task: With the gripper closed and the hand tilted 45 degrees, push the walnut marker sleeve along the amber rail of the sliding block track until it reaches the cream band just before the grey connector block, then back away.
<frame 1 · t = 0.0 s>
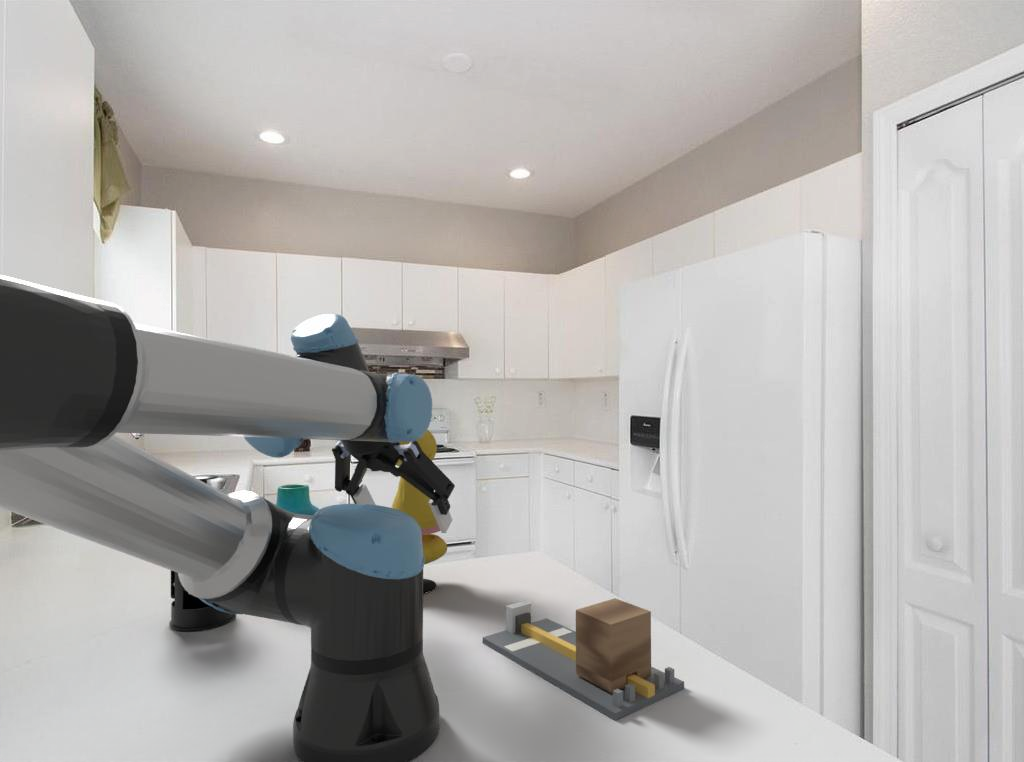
hand: (409, 522, 97), 15 cm above the counter, tool tilted 35°, fingers open, 13 cm apart
french press: (201, 621, 97), on the counter
toy: (414, 585, 114), on the counter
vase: (293, 593, 110), on the counter
sleeve: (613, 642, 76), point 5 cm above the counter, slide at -7.0 cm
sliding block track: (574, 663, 81), on the counter
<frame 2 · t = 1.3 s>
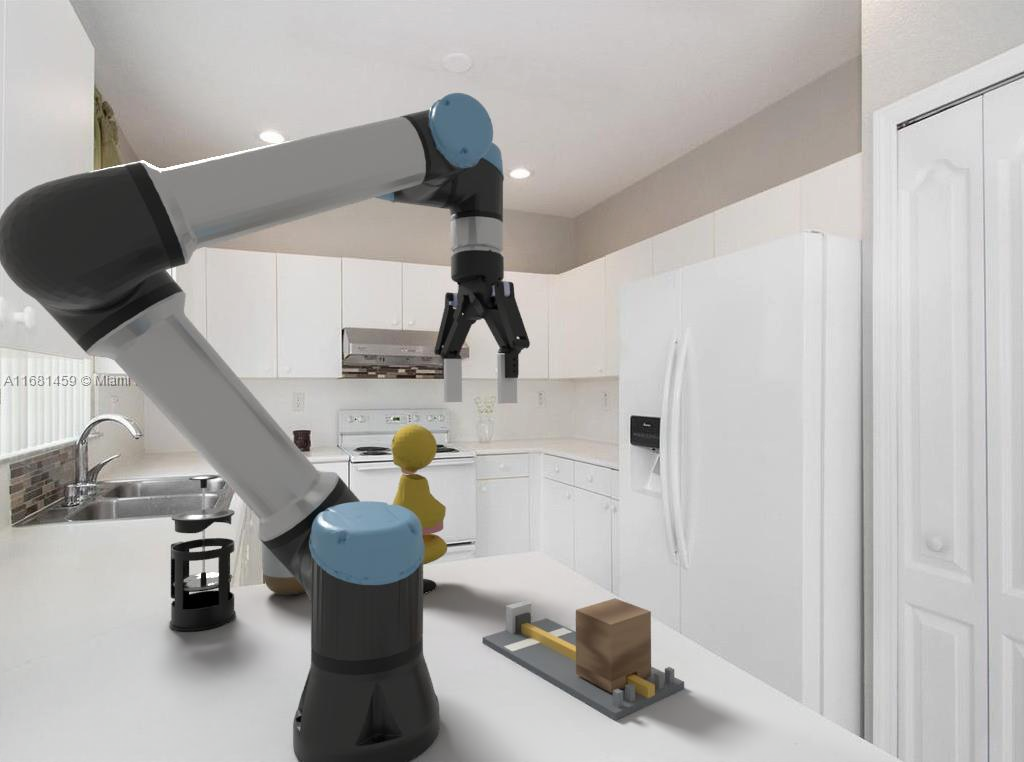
hand: (478, 402, 87), 35 cm above the counter, tool pointing down, fingers open, 13 cm apart
nothing on the counter moved.
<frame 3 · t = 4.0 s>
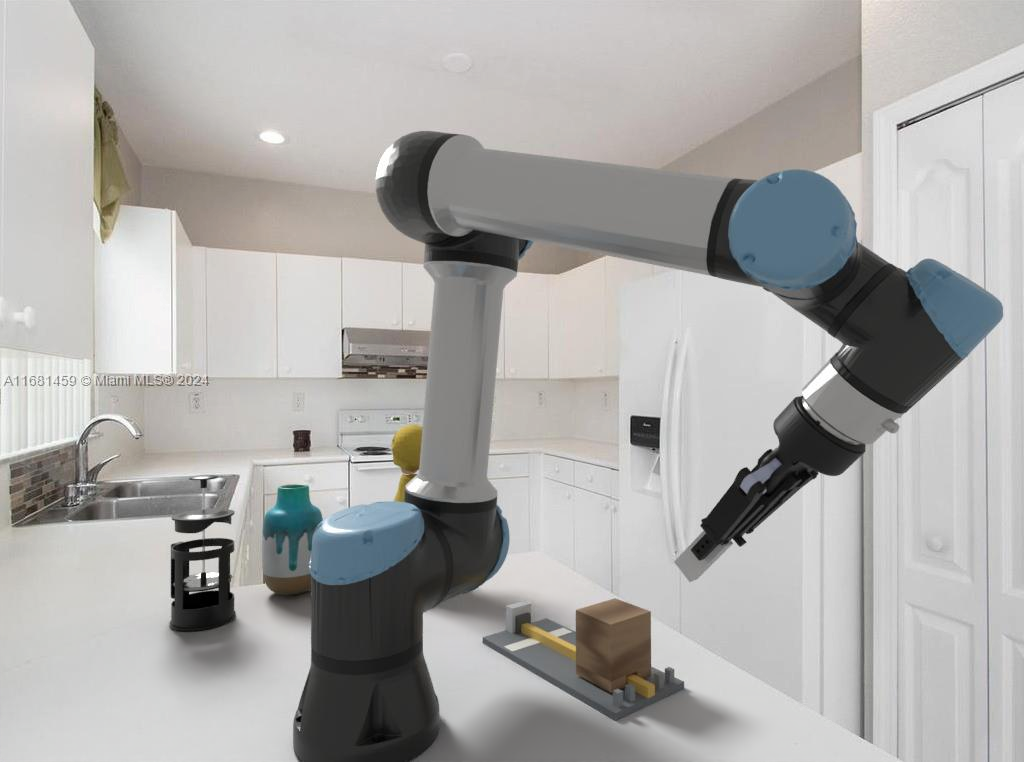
hand: (685, 570, 68), 16 cm above the counter, tool tilted 45°, fingers closed
nothing on the counter moved.
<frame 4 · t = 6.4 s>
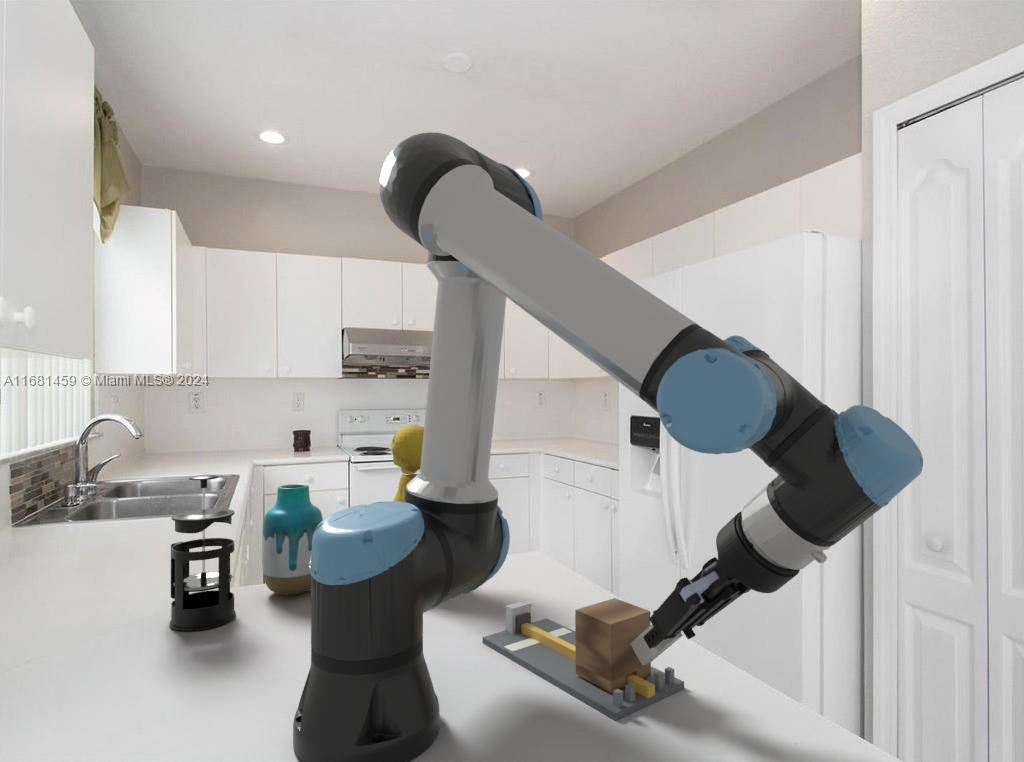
hand: (640, 652, 72), 5 cm above the counter, tool tilted 45°, fingers closed
sleeve: (612, 642, 76), point 5 cm above the counter, slide at -6.9 cm, touching gripper
everything else where it was.
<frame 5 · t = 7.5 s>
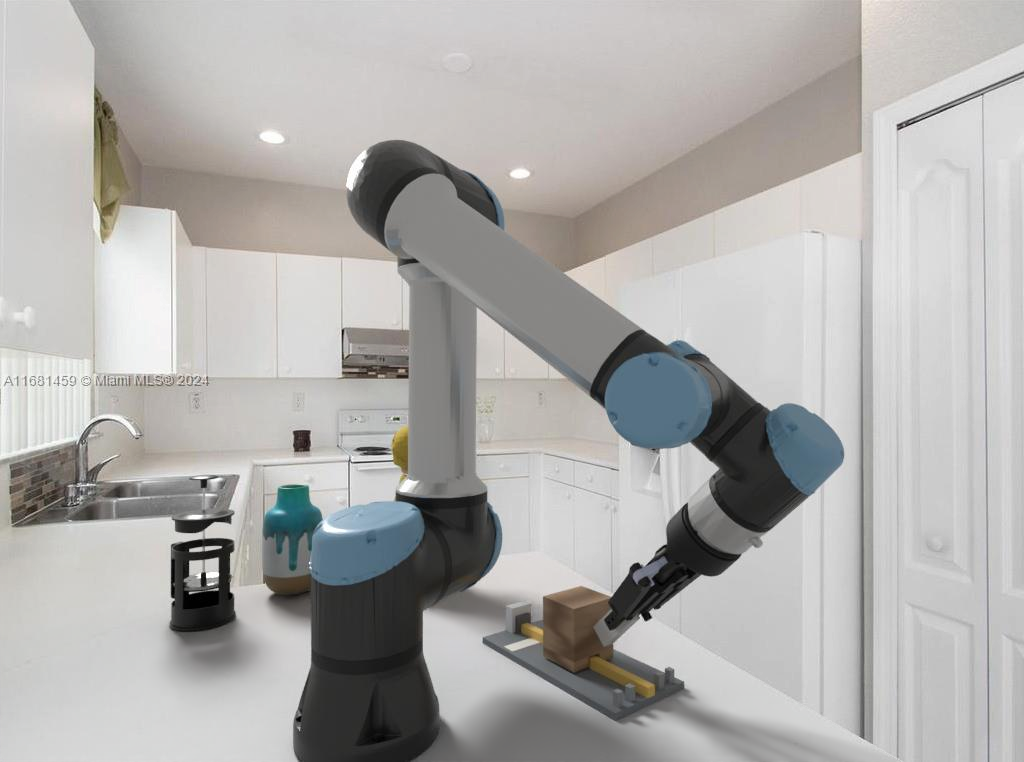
hand: (603, 635, 78), 5 cm above the counter, tool tilted 45°, fingers closed
sleeve: (578, 626, 81), point 5 cm above the counter, slide at -0.6 cm, touching gripper
everything else where it was.
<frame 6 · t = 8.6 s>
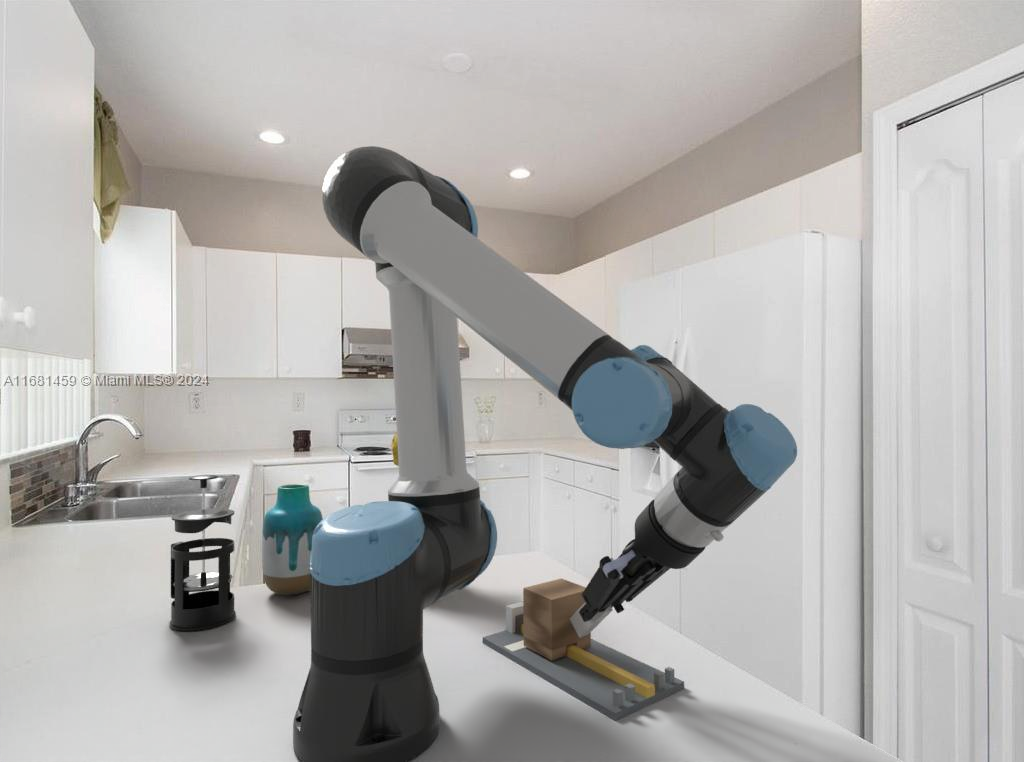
hand: (578, 626, 81), 5 cm above the counter, tool tilted 45°, fingers closed
sleeve: (556, 617, 84), point 5 cm above the counter, slide at 3.6 cm, touching gripper
everything else where it was.
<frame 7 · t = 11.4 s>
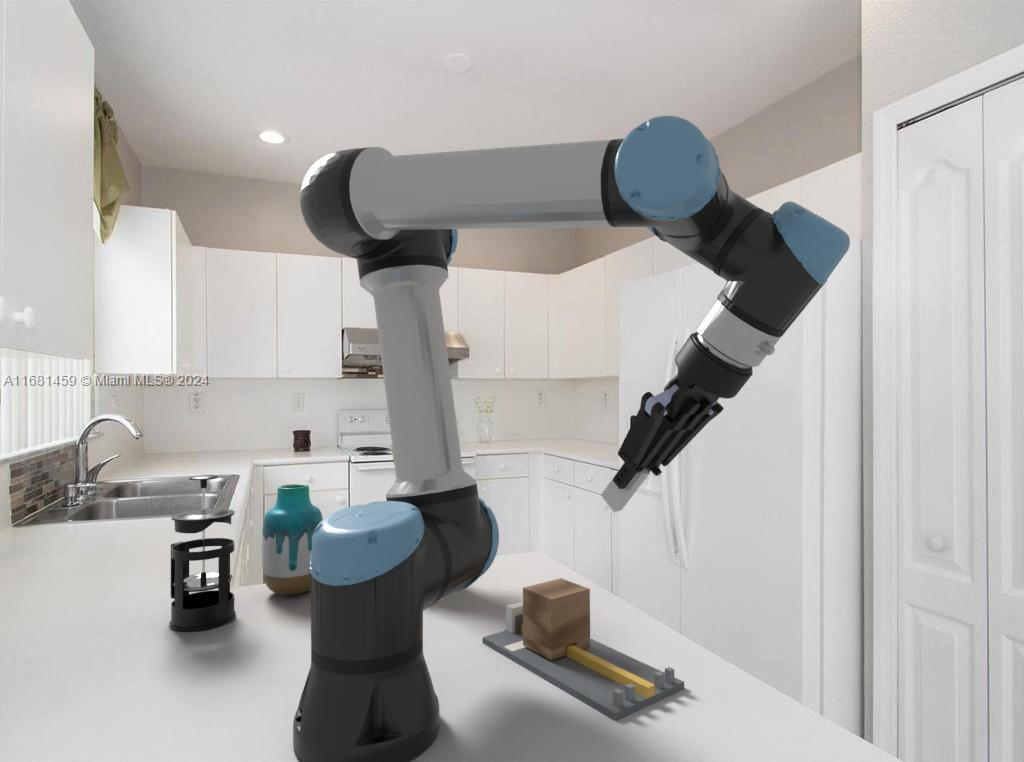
hand: (611, 502, 75), 22 cm above the counter, tool tilted 40°, fingers closed
sleeve: (556, 617, 84), point 5 cm above the counter, slide at 3.7 cm
everything else where it was.
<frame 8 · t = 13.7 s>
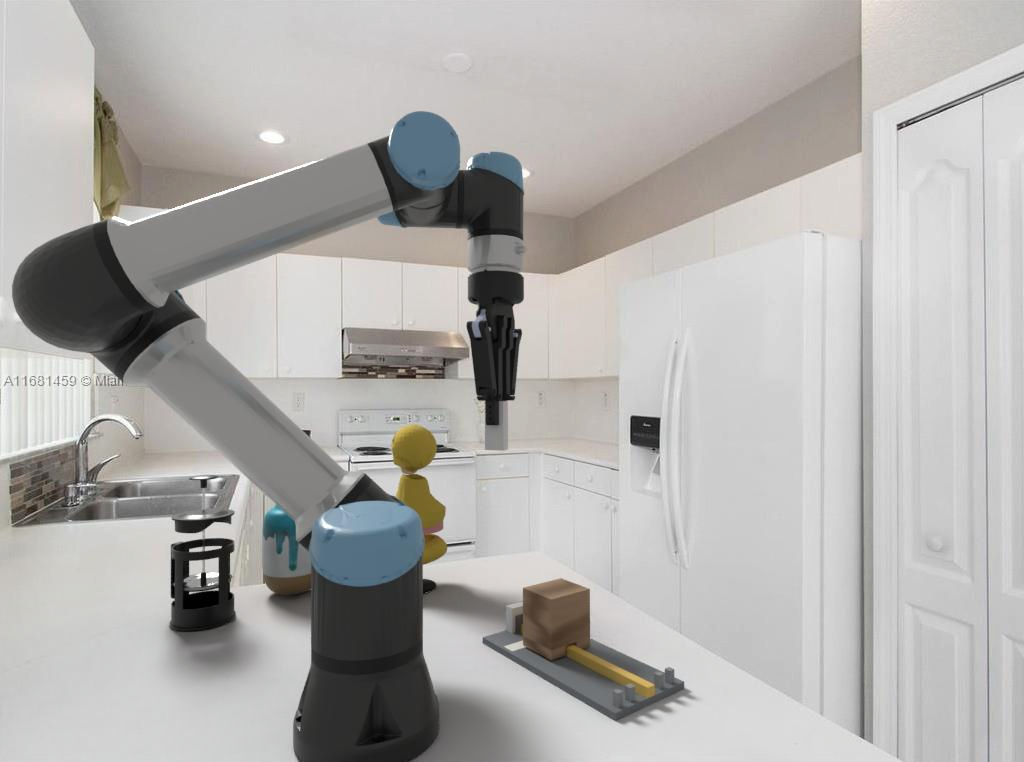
hand: (496, 449, 82), 28 cm above the counter, tool pointing down, fingers closed
nothing on the counter moved.
at the end: sleeve slide at 3.7 cm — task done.
